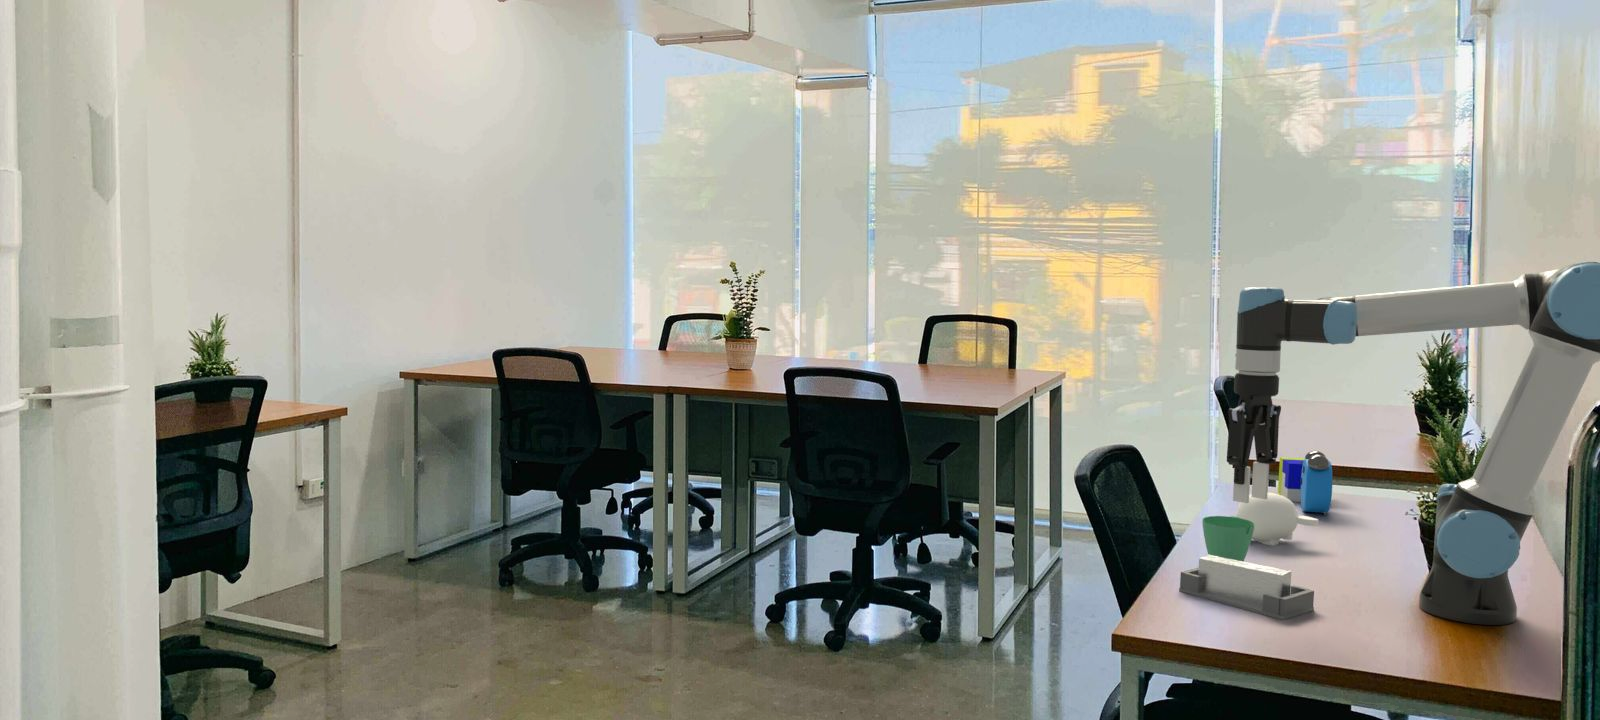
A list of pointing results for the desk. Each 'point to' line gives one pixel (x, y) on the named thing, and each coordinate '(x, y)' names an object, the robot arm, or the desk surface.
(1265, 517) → the piggy bank
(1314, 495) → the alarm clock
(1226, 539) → the mug
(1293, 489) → the puzzle toy
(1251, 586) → the white rectangular block
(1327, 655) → the desk surface
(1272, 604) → the end caps
